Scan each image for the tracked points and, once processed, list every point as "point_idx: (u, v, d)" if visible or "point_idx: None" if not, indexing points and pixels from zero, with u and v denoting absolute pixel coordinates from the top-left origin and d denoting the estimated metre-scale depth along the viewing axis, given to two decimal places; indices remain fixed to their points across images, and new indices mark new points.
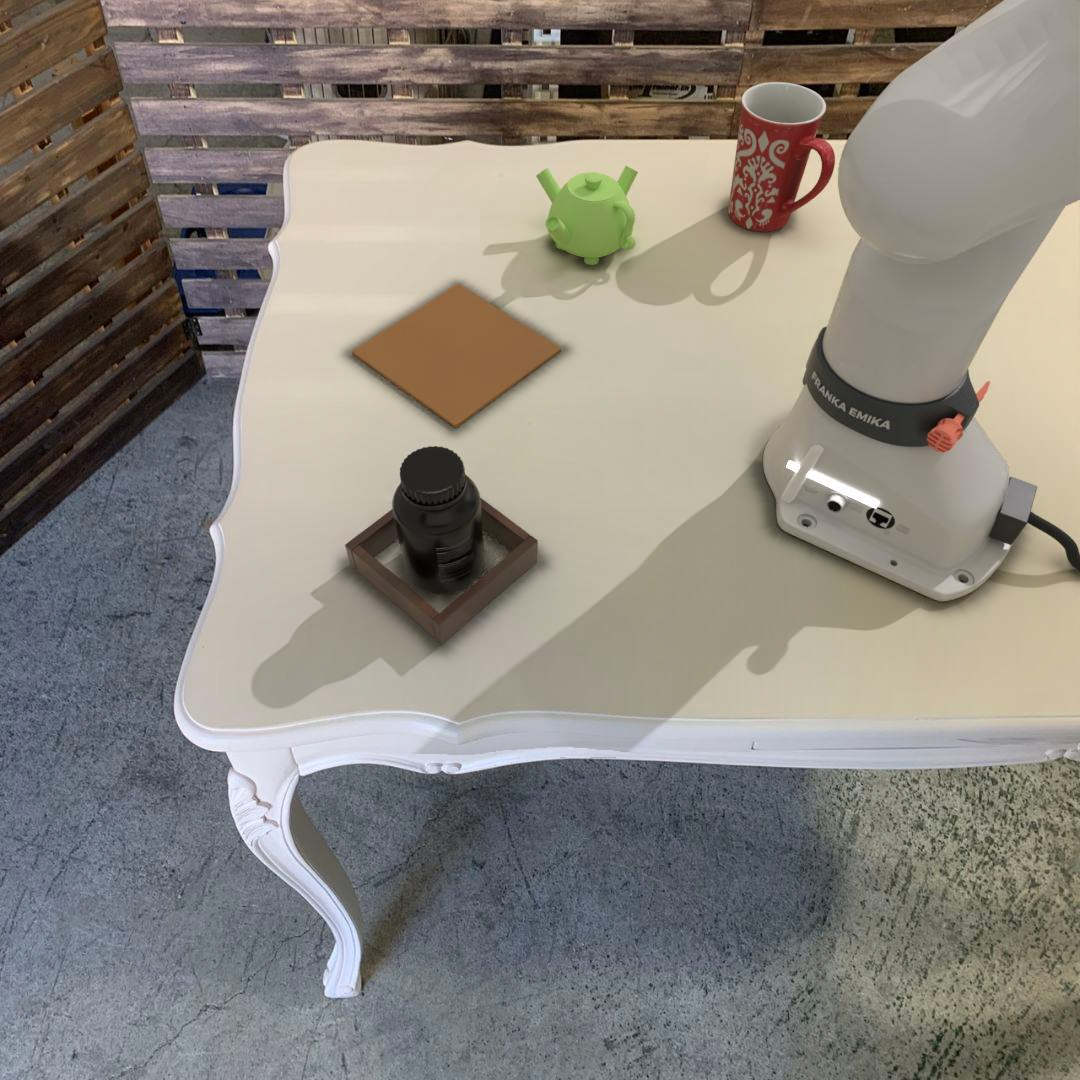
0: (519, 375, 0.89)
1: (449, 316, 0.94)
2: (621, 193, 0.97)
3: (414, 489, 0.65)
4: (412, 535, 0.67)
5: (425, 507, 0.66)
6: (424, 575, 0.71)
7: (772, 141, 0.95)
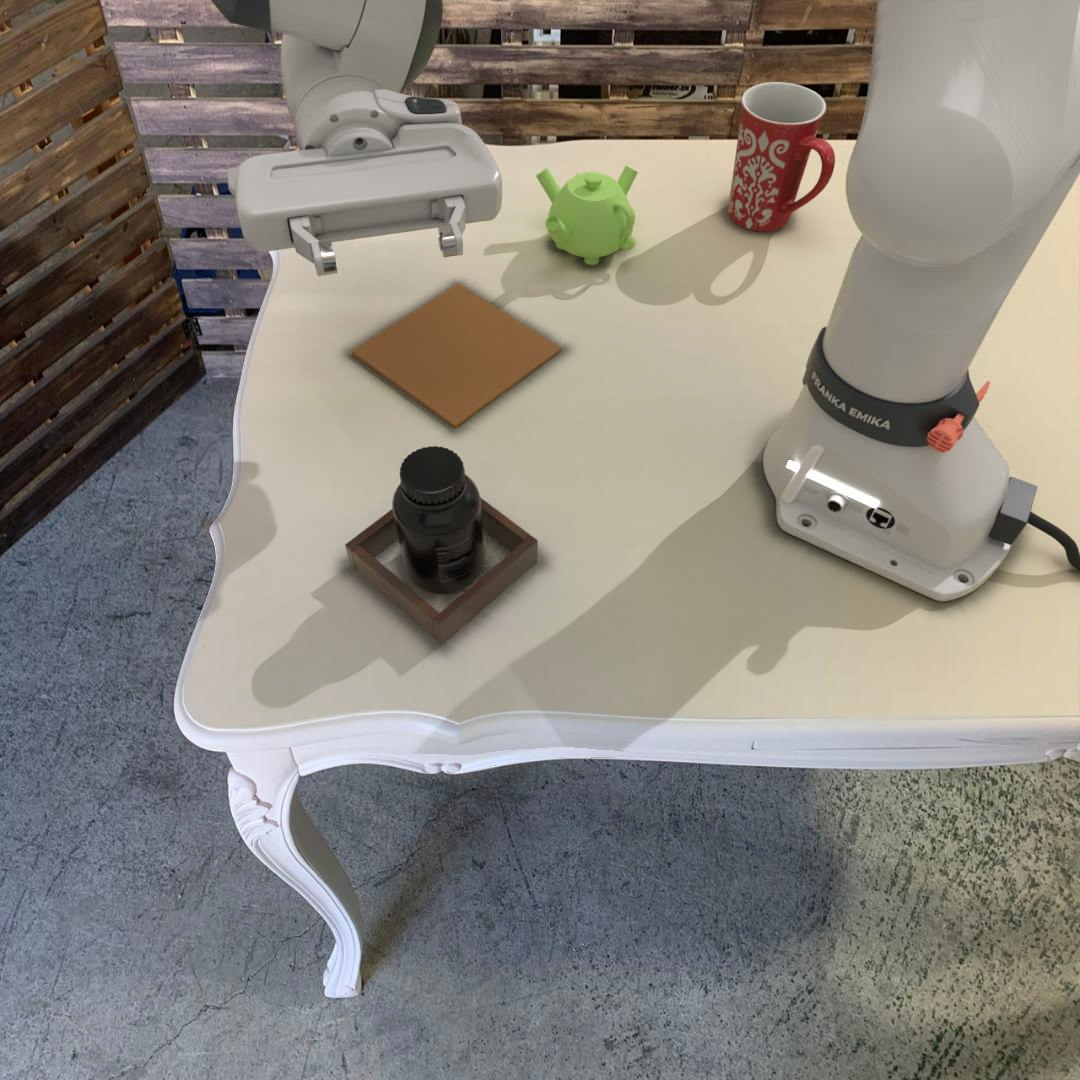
0: (519, 375, 0.89)
1: (449, 316, 0.94)
2: (621, 193, 0.97)
3: (414, 489, 0.65)
4: (412, 535, 0.67)
5: (425, 507, 0.66)
6: (424, 575, 0.71)
7: (772, 141, 0.95)
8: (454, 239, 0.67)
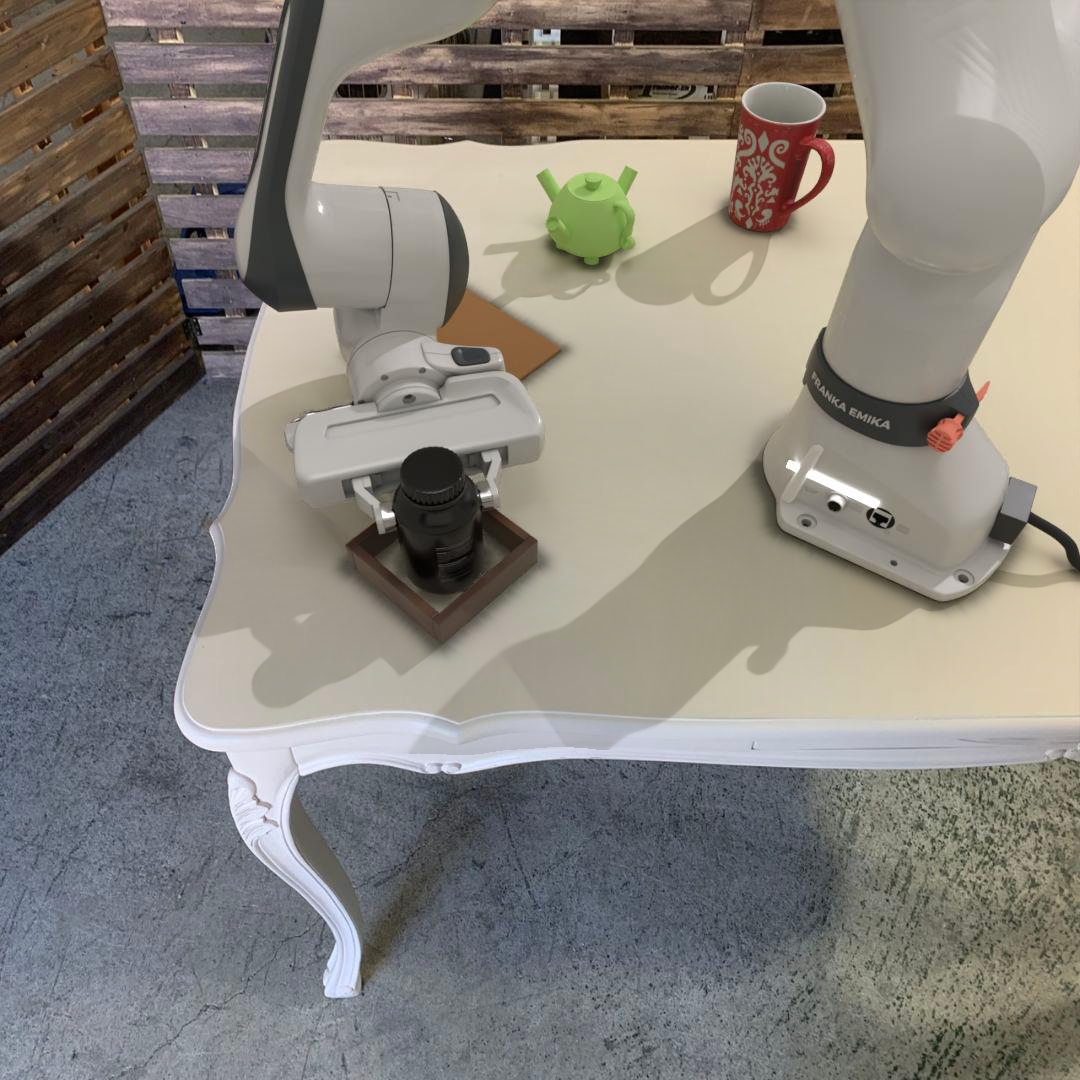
0: (519, 375, 0.89)
1: None
2: (621, 193, 0.97)
3: (414, 489, 0.65)
4: (413, 535, 0.67)
5: (425, 507, 0.66)
6: (424, 575, 0.71)
7: (772, 141, 0.95)
8: (491, 497, 0.69)
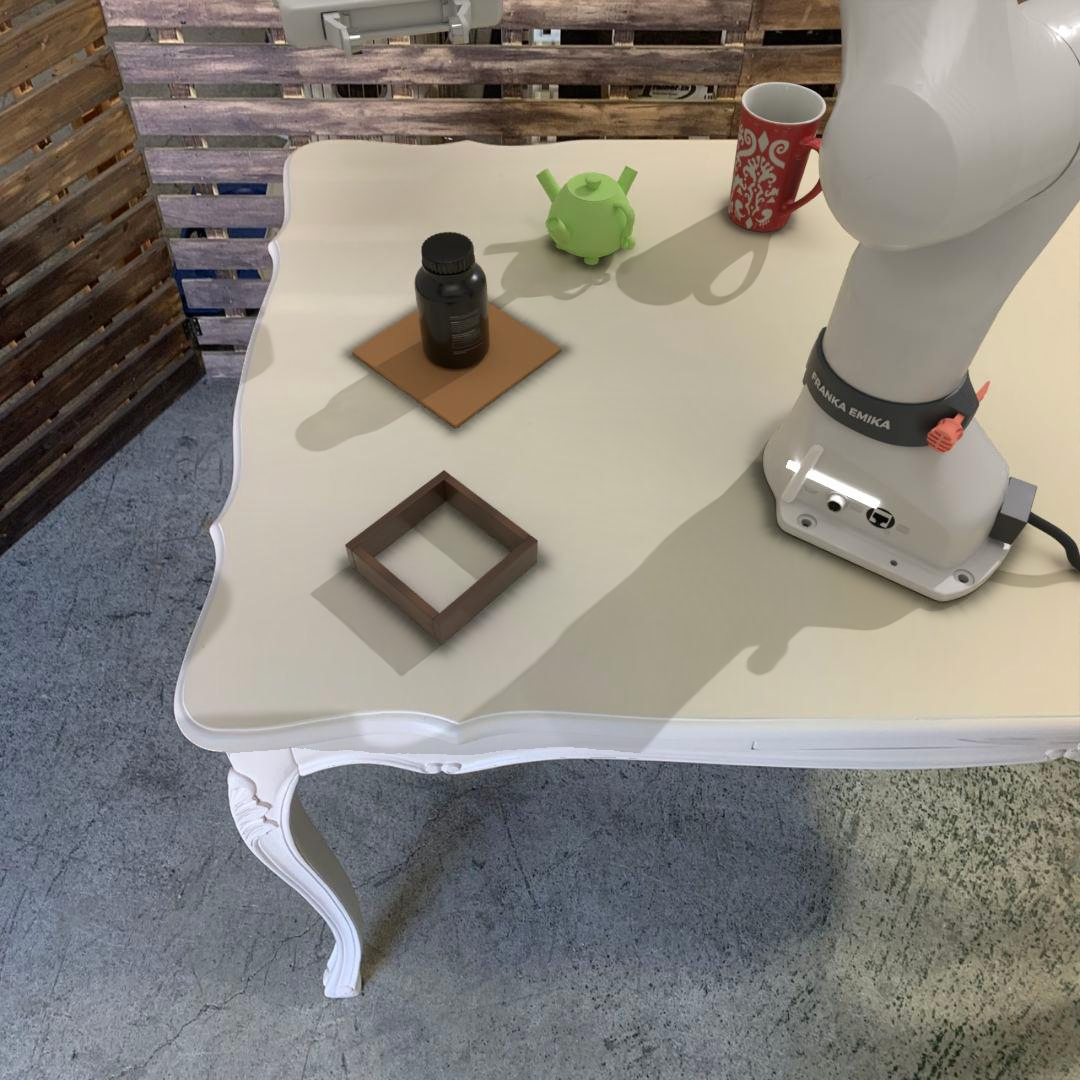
0: (519, 375, 0.89)
1: None
2: (621, 193, 0.97)
3: (433, 259, 0.80)
4: (431, 304, 0.83)
5: (442, 277, 0.81)
6: (440, 347, 0.86)
7: (772, 141, 0.95)
8: (461, 25, 0.78)
